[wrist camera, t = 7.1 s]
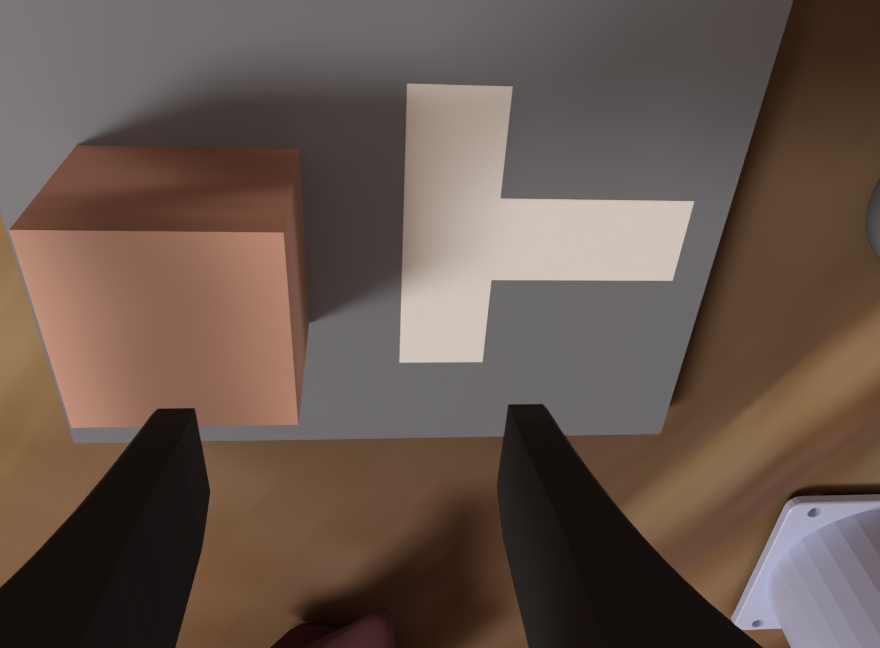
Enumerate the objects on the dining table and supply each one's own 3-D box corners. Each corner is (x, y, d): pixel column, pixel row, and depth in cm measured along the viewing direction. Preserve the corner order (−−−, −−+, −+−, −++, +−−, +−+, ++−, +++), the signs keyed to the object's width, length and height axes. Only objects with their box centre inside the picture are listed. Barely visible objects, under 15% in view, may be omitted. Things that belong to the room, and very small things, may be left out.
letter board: (786, -56, 17) (808, -47, 16) (651, 412, 25) (660, 434, 24) (-71, -96, 15) (-96, -89, 14) (84, 420, 23) (74, 443, 22)
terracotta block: (299, 149, 18) (283, 232, 14) (309, 323, 21) (298, 425, 17) (76, 144, 17) (8, 229, 14) (119, 323, 20) (70, 427, 17)
